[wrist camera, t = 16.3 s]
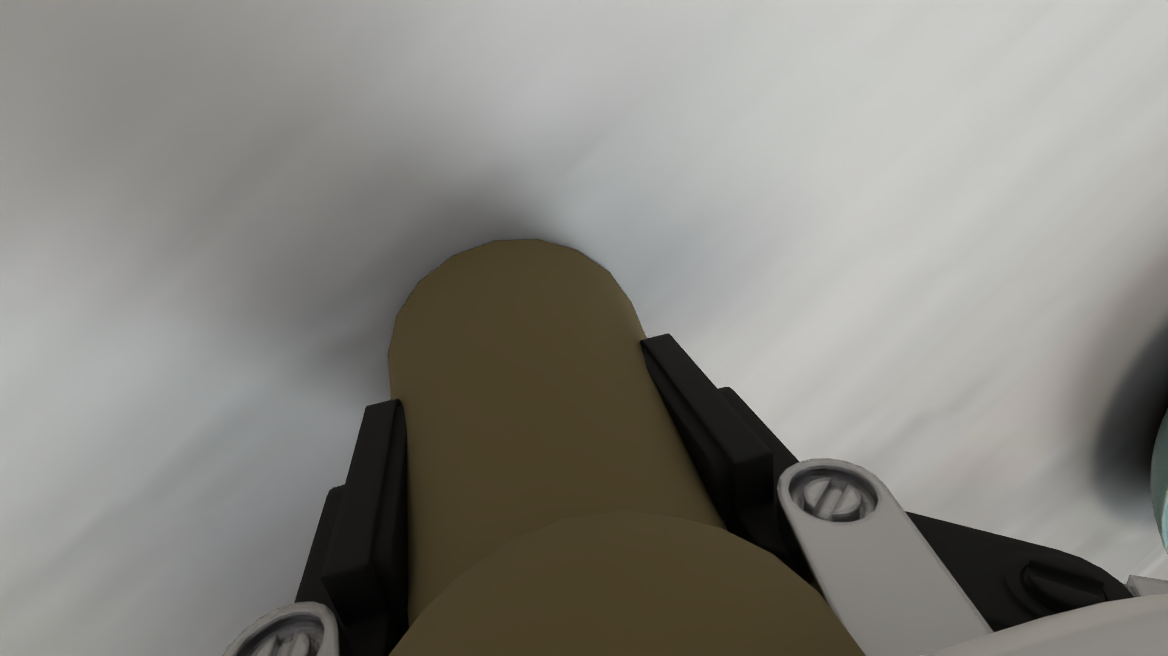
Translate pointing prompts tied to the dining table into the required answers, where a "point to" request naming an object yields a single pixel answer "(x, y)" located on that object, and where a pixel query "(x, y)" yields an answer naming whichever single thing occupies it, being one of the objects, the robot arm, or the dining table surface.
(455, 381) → the olive green pawn
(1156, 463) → the saucer
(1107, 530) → the dining table surface
